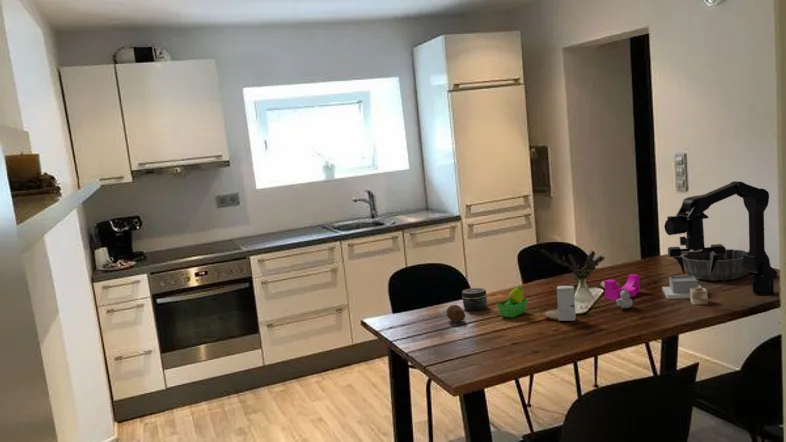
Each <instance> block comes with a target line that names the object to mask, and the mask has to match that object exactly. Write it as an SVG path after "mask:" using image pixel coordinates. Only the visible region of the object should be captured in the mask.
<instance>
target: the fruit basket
mask: <svg viewBox="0 0 786 442" xmlns="http://www.w3.org/2000/svg"><path fill="white" fill-rule="evenodd" d="M508 296H509V298H508V299H505V300H503V301H501V302H498V303H496V306H497V308H498V311H499V313H500V316H501V317H504V318H512V319H513V318H515V317H517V316H519V315H522V314H525V312H526V310H527V304H528V301H529V299H528V298H527V299H526V298H525V297H524V290H523V287H522V286H517V285H516V287H515V288H513V289H512V290H511V291H510V292H509V293H508Z"/></svg>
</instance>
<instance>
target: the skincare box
mask: <svg viewBox="0 0 786 442" xmlns="http://www.w3.org/2000/svg"><path fill="white" fill-rule="evenodd" d="M556 295H557V296H556V297H557V298H556V299H557V313H558V314H557V315H558V321H570V322H572V321H576V318H577V316H576V303H575V286H574V285H558V286H557V287H556Z"/></svg>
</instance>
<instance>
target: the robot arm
mask: <svg viewBox="0 0 786 442" xmlns="http://www.w3.org/2000/svg"><path fill="white" fill-rule="evenodd" d="M735 195H736V196H738V197H740V198H742V201H743V205H744V207H745V209H746V210H747V212H748V213H747V214H748V237H749V240H748V245H749V247H748V248H749V249H748V251H747V252H748V253H747V255H743V260H744V262H743V265H744V267H745V269H746V270H747V271H748V272H747V274H748V275H749V277H752V280H750V287H751V288H750V289H751V292H752V293H754V295H756V296H760V295H761V296H762V295H764V296H765V295H768V296H769V295H776V292H775V288H774V287H775V286H774V279H777V277H778V271H776V270H775V269H774V268H773V267H772V266H771V262H770V257H769V256H768V254H767V252H766V248H765V211H766V209H767V207H768V206H769V201H770V193H769V191H768V190H767V189H765V188H758V187H755V186H753V185H750V184H747V183H745V182H743V181H731V182H729V184H725V185H723V186H720V187H719V188H716V189H714V190H712V191H709V192H707V193H704V194H698V195H693V196H689V197H685V198H684V199H683V200H682V203H681V206H680V208H679V209H678V211H677V212H676V215H674V216H672V215H671V216H669V215H668V216H666V220H665V223H664V226H663V227H664V231H665V233H666V235H669V236H674V235H683V234H685V235H686V236H679V245H680V246H685V248H681V247H680V246H669V247H668V248H667V255H668V257H669V258H670V257H671V258H672V259H674V260H676V261H677V263H678V266H679V267H680V269H681V272H682V274H683V275H685V274H686V273H685V272H686V271H685V270H686V269H685V264H684V260H683V258H682V255H684V254H687V253H705V252H712V253H710V257H711V258H710V273H712V272H713V269H714V266H715V264H716V262H717V260H718V258H719V257H721V256H722V255H721V254H726V249H727V248H726V246H724V245H723V244H722V243H718V244H710V247H709V246H707V247H705V231H704V219H709V215H707V214H706V213H704V212H706V211H707V210H708V209H709V208H710V207H711V206H712V205H713V204H715V203H718V202H721V201H724V200H725V199H727V198H730V197H733V196H735Z"/></svg>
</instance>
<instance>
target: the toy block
mask: <svg viewBox="0 0 786 442" xmlns="http://www.w3.org/2000/svg"><path fill="white" fill-rule="evenodd" d="M627 276H628V277H627V279H626V282H625V284H624V285H623V286H622V287H620V286H619V285H618V283H617V280H616V279H615V280H614V279H606V280H603V281H604V296H605V299H607V300H613V301H615V302H616V300H617V299H620V298H621V297H620V293H621V291H622V290H623V289H626V290H627V291H628V293H629V294H630V295H629V296H630V297H629V298H630V299H631V298H633V297H636V296H637V294H638V293H641V286H640V285H641V283H640V274H634V273H632V274H631V273H630V274H628V275H627Z"/></svg>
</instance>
